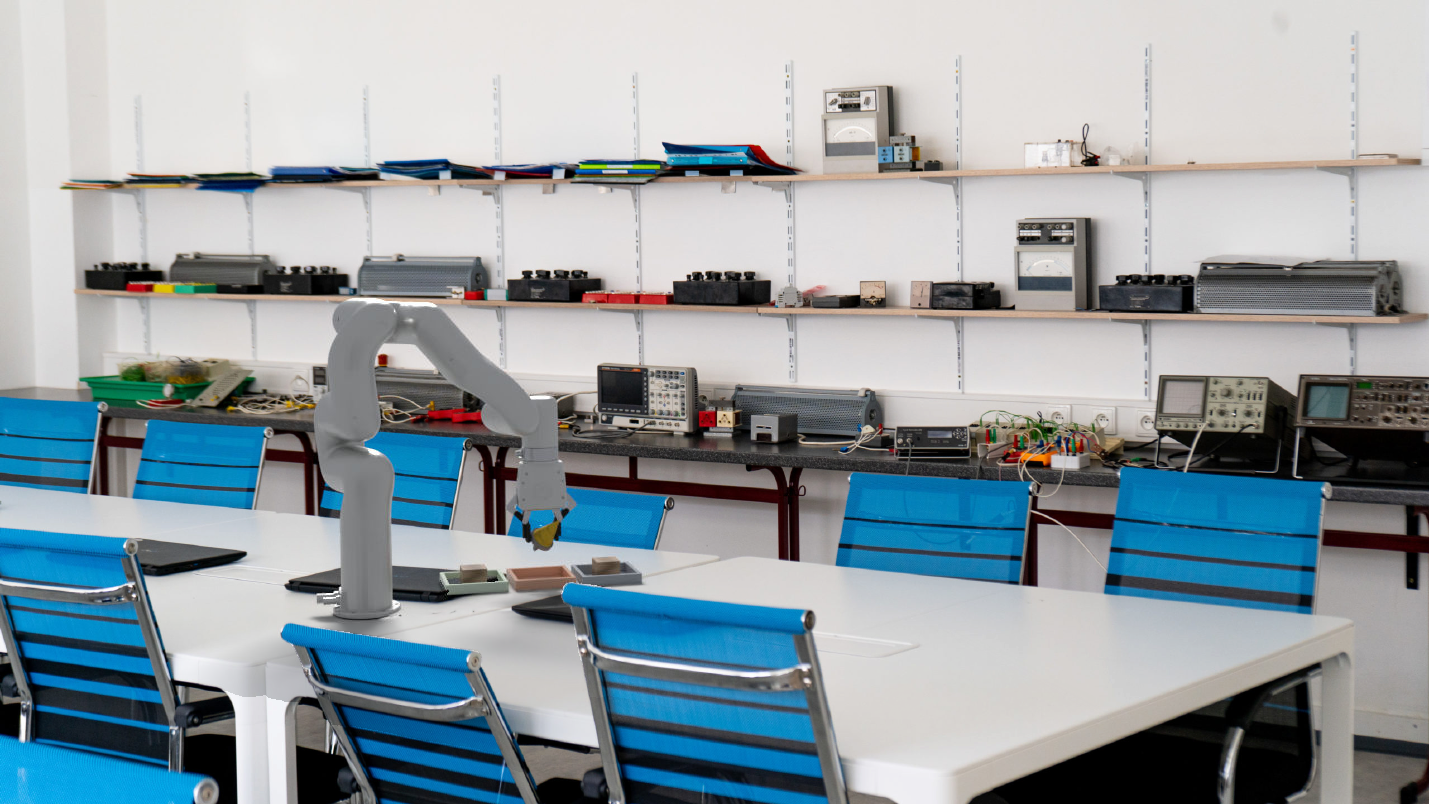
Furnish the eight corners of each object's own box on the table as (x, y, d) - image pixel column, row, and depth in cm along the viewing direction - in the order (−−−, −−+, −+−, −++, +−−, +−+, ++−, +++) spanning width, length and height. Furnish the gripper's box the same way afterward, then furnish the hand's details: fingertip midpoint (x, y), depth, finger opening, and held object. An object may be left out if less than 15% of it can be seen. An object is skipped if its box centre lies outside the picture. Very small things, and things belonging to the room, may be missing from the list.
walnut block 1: (462, 589, 270) (462, 570, 270) (460, 584, 275) (459, 565, 275) (487, 587, 272) (487, 568, 271) (484, 582, 277) (484, 563, 276)
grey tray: (582, 588, 274) (582, 577, 274) (571, 576, 286) (571, 564, 286) (641, 585, 278) (641, 573, 277) (627, 572, 290) (627, 561, 289)
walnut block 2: (597, 581, 279) (596, 562, 278) (592, 576, 283) (591, 557, 283) (620, 579, 280) (620, 561, 280) (614, 574, 285) (614, 556, 284)
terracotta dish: (515, 593, 270) (515, 581, 270) (506, 580, 282) (506, 568, 282) (576, 589, 273) (576, 577, 273) (564, 576, 285) (564, 565, 285)
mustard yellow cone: (545, 548, 282) (572, 519, 277) (540, 563, 277) (567, 534, 273) (525, 534, 280) (551, 505, 276) (519, 549, 276) (546, 520, 271)
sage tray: (446, 597, 266) (445, 585, 265) (439, 584, 278) (439, 572, 277) (508, 593, 269) (508, 581, 269) (499, 580, 281) (499, 569, 281)
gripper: (501, 459, 269) (503, 547, 271) (584, 455, 274) (585, 541, 276) (496, 454, 276) (498, 540, 278) (577, 450, 281) (578, 534, 283)
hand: (541, 539), depth 277 cm, fingers closed on mustard yellow cone, 5 cm apart
